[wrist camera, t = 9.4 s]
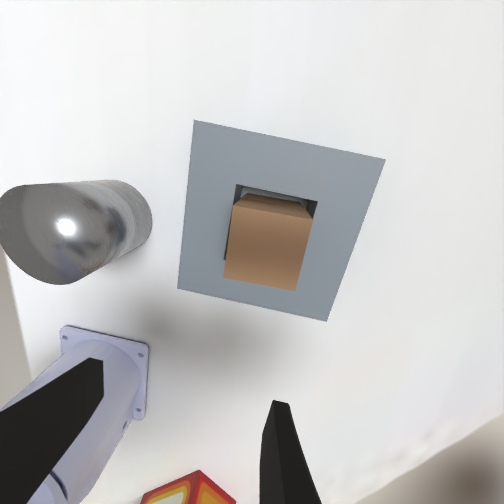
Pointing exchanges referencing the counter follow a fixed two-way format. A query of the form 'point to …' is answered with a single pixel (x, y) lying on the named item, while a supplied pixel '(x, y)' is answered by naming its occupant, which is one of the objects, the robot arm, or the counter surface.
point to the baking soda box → (189, 492)
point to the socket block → (280, 181)
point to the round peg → (71, 227)
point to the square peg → (267, 241)
